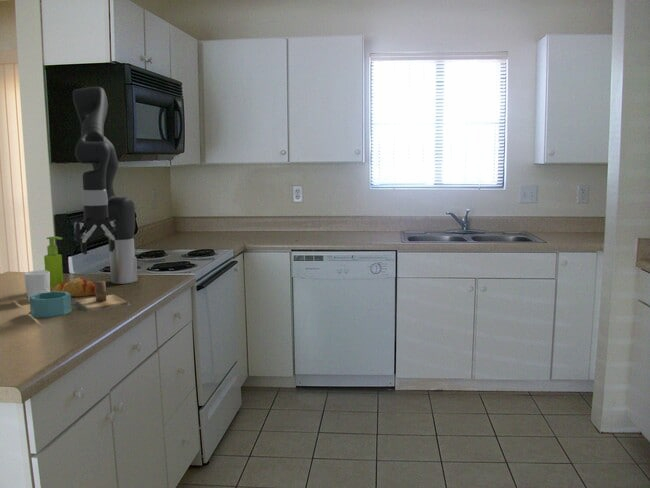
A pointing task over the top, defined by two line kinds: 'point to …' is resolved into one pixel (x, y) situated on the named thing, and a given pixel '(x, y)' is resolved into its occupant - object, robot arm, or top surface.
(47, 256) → the soap dispenser
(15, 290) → the top surface
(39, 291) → the white cup
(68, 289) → the croissant
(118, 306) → the mat
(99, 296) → the lid
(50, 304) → the bowl
